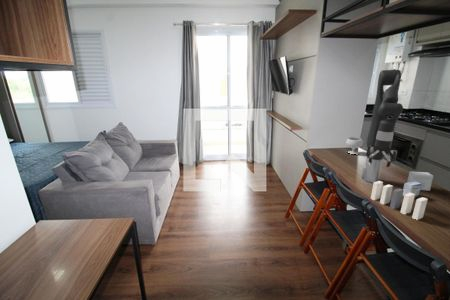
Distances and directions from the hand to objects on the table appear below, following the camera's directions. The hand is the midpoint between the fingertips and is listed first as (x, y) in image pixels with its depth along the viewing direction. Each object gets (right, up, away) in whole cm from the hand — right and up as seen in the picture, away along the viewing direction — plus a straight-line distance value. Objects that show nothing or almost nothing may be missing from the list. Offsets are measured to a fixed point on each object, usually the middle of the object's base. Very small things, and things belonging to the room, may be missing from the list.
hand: (378, 165), depth 128 cm
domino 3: (+5, -24, -5) cm, 25 cm away
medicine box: (+24, -20, +6) cm, 32 cm away
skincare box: (+37, -17, +16) cm, 44 cm away
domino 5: (+10, -27, -15) cm, 32 cm away
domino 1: (+1, -21, +5) cm, 22 cm away
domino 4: (+8, -25, -10) cm, 28 cm away
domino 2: (+3, -22, 0) cm, 23 cm away
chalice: (+36, +5, +87) cm, 94 cm away
